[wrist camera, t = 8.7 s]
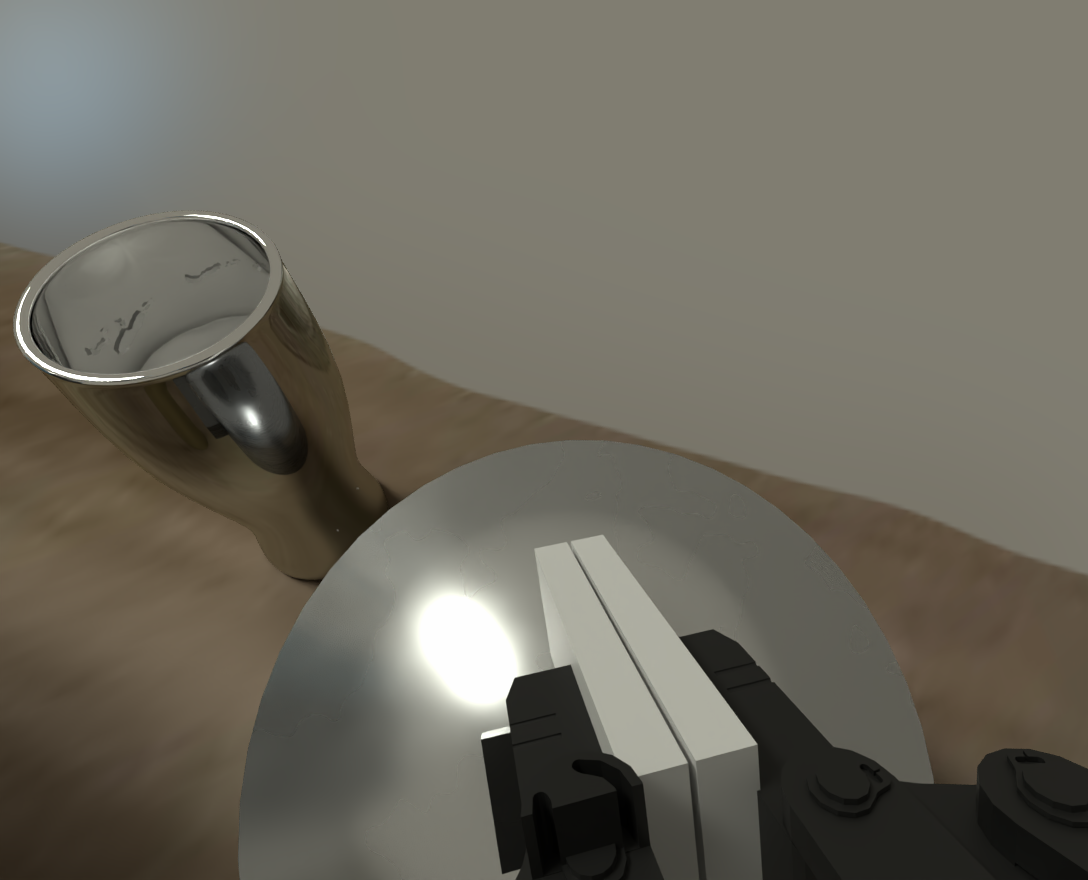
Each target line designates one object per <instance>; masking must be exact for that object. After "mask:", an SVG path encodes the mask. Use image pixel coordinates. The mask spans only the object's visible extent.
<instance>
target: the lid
mask: <svg viewBox="0 0 1088 880" xmlns="http://www.w3.org/2000/svg"><path fill="white" fill-rule="evenodd" d="M599 535H603V536H604V537H605V538H606V540H607V541H608V542H609V544H610V545H611V546H612V548H613V549H614V550H615V552H616V553H617V555H618V556H619V557H620V559H621V560H622V561H623V563H624V564H625V565H626V567H627V568H628V569H629V571H630V572H631V574H632V575H633V576H634V578H635V579H636V580H637V582H638V583H639V584H640V586H641V587H642V588H643V590H644V591H645V593H646V594H647V595H648V597H649V598H650V599H651V601H652V602H653V603H654V605H655V606H656V607H657V609H658V610H659V611H660V613H661V614H662V616H663V617H664V618H665V620H666V621H667V622H668V624H669V625H670V626H671V628H672V629H673V630H674V632H675V633H676V635H677V636H678V637H681V636H686V635H690V634H694V633H698V632H703V631H707V630H711V629H714V630H716V631H717V632H719V633H721V634H723V635H725V636H727V637H729V638H731V639H732V640H734V641H736V642H738V643H739V644H740V645H741V646H742V647H743V648H744V649H745V650H746V652H747V653H748V654H749V655H750V656H751V657H752V658H753V659H754V660H755V661H756V665H757V666H760V667H761V668H762V669H763V670H764V671H765V672H766V674H767V675H768V676H769V677H770V679H771V681H772V682H775V683H776V684H777V686H778V687H779V688H780V689H781V690H782V691H783V692H784V693H785V694H786V695H787V697H788V698H789V699H790V700H791V701H792V702H793V703H794V704H795V705H796V706H797V707H798V709H799V710H800V711H801V712H802V713H803V714H804V715H805V716H806V717H807V718H808V720H809V721H810V722H811V723H812V724H813V725H814V726H815V727H816V728H817V729H818V730H819V732H820V733H821V734H822V735H823V736H824V737H825V738H826V739H827V740H828V741H829V743H830V744H831V745H832V746H833V747H837V748H842V749H848V750H852V751H854V752H856V753H859V754H861V755H863V756H865V757H868V758H870V759H872V760H874V761H876V762H877V763H878V764H879V765H881V766H882V767H883V768H885V769H886V770H887V771H888V772H890V773H891V774H892V775H894V776H895V777H896V778H897V779H898V780H899V781H903V782H912V783H923V784H934V779H933V774H932V770H931V765H930V761H929V756H928V752H927V748H926V743H925V739H924V734H923V730H922V727H921V724H920V721H919V718H918V715H917V712H916V709H915V706H914V703H913V700H912V697H911V694H910V691H909V688H908V685H907V682H906V680H905V678H904V676H903V674H902V672H901V669H900V667H899V665H898V663H897V661H896V659H895V656H894V654H893V652H892V650H891V648H890V646H889V643H888V641H887V639H886V638H885V636H884V634H883V632H882V631H881V629H880V627H879V626H878V624H877V622H876V621H875V619H874V617H873V616H872V614H871V612H870V611H869V609H868V607H867V606H866V604H865V602H864V601H863V599H862V598H861V597H860V595H859V594H858V593H857V591H856V590H855V589H854V587H853V586H852V585H851V583H850V582H849V581H848V579H847V578H846V577H845V575H844V574H843V572H842V571H841V570H840V568H839V567H838V566H837V565H836V564H835V563H834V562H833V561H832V559H831V558H830V557H829V556H828V555H827V554H826V553H825V552H824V551H823V550H822V549H821V548H820V546H819V545H818V544H817V543H816V542H815V541H814V540H813V539H812V538H811V537H810V536H809V535H808V534H807V533H806V532H805V531H804V530H802V529H801V528H800V527H799V526H798V525H797V524H795V523H794V522H793V521H792V520H791V519H790V518H789V517H787V516H786V515H785V514H784V513H783V512H782V511H780V510H779V509H778V508H777V507H775V506H774V505H772V504H771V503H769V502H768V501H766V500H765V499H764V498H762V497H761V496H759V495H758V494H756V493H755V492H753V491H752V490H750V489H749V488H748V487H746V486H744V485H742V484H740V483H739V482H737V481H735V480H733V479H731V478H729V477H727V476H725V475H724V474H722V473H720V472H718V471H716V470H714V469H712V468H710V467H707V466H705V465H702V464H699V463H697V462H694V461H692V460H689V459H687V458H684V457H682V456H679V455H676V454H672V453H668V452H664V451H661V450H657V449H653V448H649V447H645V446H641V445H634V444H626V443H619V442H611V441H590V440H566V441H557V442H549V443H540V444H531V445H527V446H523V447H519V448H515V449H511V450H507V451H503V452H498V453H494V454H492V455H489V456H487V457H484V458H481V459H479V460H476V461H473V462H471V463H468V464H465V465H463V466H460V467H458V468H456V469H454V470H452V471H450V472H448V473H447V474H445V475H443V476H441V477H439V478H437V479H435V480H433V481H431V482H430V483H428V484H426V485H424V486H422V487H421V488H420V489H418V490H417V491H415V492H414V493H412V494H411V495H410V496H408V497H407V498H405V499H404V500H402V501H401V502H400V503H398V504H397V505H395V506H394V507H392V508H391V509H390V510H389V511H387V512H386V513H385V514H384V515H383V516H382V517H381V518H380V519H378V520H377V521H376V522H375V523H374V524H373V525H372V526H371V527H370V528H368V529H367V530H366V531H365V532H364V533H363V534H362V535H361V536H359V537H358V539H357V540H356V541H355V542H354V543H353V544H352V545H351V546H350V548H349V549H348V550H347V551H346V552H345V553H344V554H343V556H342V557H341V558H340V559H339V560H338V561H337V562H336V563H335V565H334V566H333V567H332V568H331V569H330V570H329V572H328V573H327V575H326V576H325V577H324V579H323V580H322V582H321V583H320V585H319V586H318V588H317V589H316V590H315V592H314V593H313V595H312V596H311V598H310V599H309V600H308V602H307V603H306V605H305V606H304V608H303V609H302V611H301V613H300V615H299V617H298V619H297V621H296V623H295V624H294V626H293V628H292V630H291V632H290V634H289V636H288V637H287V639H286V641H285V643H284V645H283V647H282V649H281V651H280V653H279V656H278V658H277V661H276V663H275V666H274V668H273V671H272V673H271V676H270V678H269V681H268V683H267V686H266V688H265V691H264V693H263V696H262V699H261V702H260V706H259V710H258V714H257V717H256V721H255V725H254V728H253V732H252V736H251V740H250V743H249V747H248V752H247V759H246V766H245V772H244V779H243V786H242V792H241V799H240V816H239V846H238V865H239V877H240V880H516V877H517V875H518V873H519V871H520V869H521V867H522V865H523V861H524V856H525V852H526V843H525V838H524V832H523V827H522V821H521V805H522V803H521V797H520V790H519V784H518V777H517V771H516V764H515V758H514V752H513V745H512V739H511V732H510V726H509V719H508V713H507V707H506V698H507V696H508V693H509V690H510V688H511V685H512V683H513V680H514V678H515V677H520V676H524V675H528V674H532V673H537V672H541V671H545V670H550V669H554V668H555V667H554V663H553V660H552V657H551V653H550V647H549V640H548V634H547V627H546V621H545V614H544V608H543V602H542V595H541V589H540V582H539V576H538V570H537V563H536V557H535V550H534V549H535V548H540V547H545V546H550V545H555V544H560V543H564V542H567V543H568V545H569V547H570V549H571V551H572V546H571V541H574V540H579V539H584V538H589V537H594V536H599Z"/></svg>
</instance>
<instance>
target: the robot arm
mask: <svg viewBox="0 0 1088 880" xmlns="http://www.w3.org/2000/svg"><path fill="white" fill-rule="evenodd" d="M571 546H572V551H571V549H570V547H569V545H568V543H567V542H564V543H560V544H555V545H550V546H545V547H540V548H535V549H534V550H535V557H536V563H537V570H538V576H539V582H540V589H541V595H542V602H543V608H544V614H545V621H546V627H547V634H548V640H549V647H550V653H551V657H552V660H553V663H554V667H555V668H554V669H550V670H545V671H541V672H537V673H532V674H528V675H524V676H520V677H515V678H514V680H513V683H512V685H511V688H510V690H509V693H508V696H507V698H506V707H507V713H508V719H509V726H510V732H511V739H512V745H513V752H514V758H515V764H516V771H517V777H518V784H519V790H520V797H521V803H522V805H521V821H522V827H523V832H524V838H525V843H526V852H525V856H524V861H523V865H522V867H521V869H520V871H519V873H518V875H517V877H516V880H1088V769H1087V768H1085V767H1082V766H1080V765H1078V764H1076V763H1073V762H1071V761H1069V760H1066V759H1064V758H1062V757H1060V756H1056V755H1052V754H1048V753H1044V752H1039V751H1035V750H1031V749H1002V750H999V751H996V752H993V753H990V754H987V755H986V756H985V757H984V759H983V760H982V761H981V763H980V764H979V765H978V767H977V785H956V784H923V783H912V782H903V781H899V780H898V779H897V778H896V777H895V776H894V775H892V774H891V773H890V772H888V771H887V770H886V769H885V768H883V767H882V766H881V765H879V764H878V763H877V762H876V761H874V760H872V759H870V758H868V757H865V756H863V755H861V754H859V753H856V752H854V751H852V750H848V749H842V748H837V747H833V746H832V745H831V744H830V743H829V741H828V740H827V739H826V738H825V737H824V736H823V735H822V734H821V733H820V732H819V730H818V729H817V728H816V727H815V726H814V725H813V724H812V723H811V722H810V721H809V720H808V718H807V717H806V716H805V715H804V714H803V713H802V712H801V711H800V710H799V709H798V707H797V706H796V705H795V704H794V703H793V702H792V701H791V700H790V699H789V698H788V697H787V695H786V694H785V693H784V692H783V691H782V690H781V689H780V688H779V687H778V686H777V684H776V683H775V682H772V681H771V679H770V677H769V676H768V675H767V674H766V672H765V671H764V670H763V669H762V668H761V667H760V666H757V665H756V661H755V660H754V659H753V658H752V657H751V656H750V655H749V654H748V653H747V652H746V650H745V649H744V648H743V647H742V646H741V645H740V644H739V643H738V642H736V641H734V640H732V639H731V638H729V637H727V636H725V635H723V634H721V633H719V632H717V631H716V630H714V629H711V630H707V631H703V632H698V633H694V634H690V635H686V636H681V637H678V636H677V635H676V633H675V632H674V630H673V629H672V628H671V626H670V625H669V624H668V622H667V621H666V620H665V618H664V617H663V616H662V614H661V613H660V611H659V610H658V609H657V607H656V606H655V605H654V603H653V602H652V601H651V599H650V598H649V597H648V595H647V594H646V593H645V591H644V590H643V588H642V587H641V586H640V584H639V583H638V582H637V580H636V579H635V578H634V576H633V575H632V574H631V572H630V571H629V569H628V568H627V567H626V565H625V564H624V563H623V561H622V560H621V559H620V557H619V556H618V555H617V553H616V552H615V550H614V549H613V548H612V546H611V545H610V544H609V542H608V541H607V540H606V538H605V537H604V536H603V535H599V536H594V537H589V538H584V539H579V540H574V541H571Z"/></svg>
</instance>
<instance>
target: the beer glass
mask: <svg viewBox="0 0 1088 880" xmlns="http://www.w3.org/2000/svg"><path fill="white" fill-rule="evenodd" d="M13 329H14V337H15V340H16V343H17V346H18V348H19V349H20V351H21V353H22V354H23V355H24V357H25V358H26V359H27V360H28V361H29V362H30V363H31V364H32V365H33V366H34V367H36V368H37V369H39V370H40V371H41V372H42V373H43V374H44V375H45V376H46V377H47V378H48V379H49V380H50V381H51V382H52V383H53V384H54V385H55V386H56V387H57V388H58V389H59V390H60V392H61V393H62V394H63V395H64V396H65V397H66V398H67V399H68V400H69V401H70V402H71V403H72V405H73V406H74V407H75V408H76V409H77V410H78V411H79V412H80V413H81V414H82V415H83V416H84V417H85V418H86V419H87V420H88V421H89V422H90V423H91V424H92V425H93V426H94V427H95V428H96V429H97V430H98V431H99V432H100V433H101V434H102V435H103V436H104V437H105V438H106V439H108V440H109V441H110V442H111V443H112V444H113V445H114V446H115V447H116V448H117V449H119V450H120V451H121V452H122V453H123V454H124V455H125V456H126V457H127V458H129V459H130V460H131V461H133V462H134V463H135V464H136V465H138V466H139V467H140V468H142V469H143V470H144V471H146V472H147V473H148V474H150V475H151V476H152V477H153V478H155V479H156V480H157V481H159V482H160V483H162V484H164V485H165V486H167V487H169V488H170V489H172V490H174V491H176V492H177V493H179V494H181V495H182V496H184V497H186V498H188V499H189V500H191V501H193V502H195V503H197V504H199V505H201V506H203V507H205V508H207V509H209V510H211V511H213V512H216V513H218V514H220V515H222V516H224V517H226V518H228V519H230V520H233V521H235V522H237V523H239V524H240V525H242V526H244V527H246V528H248V529H249V530H250V531H251V532H252V533H253V534H254V535H255V537H256V539H257V541H258V544H259V546H260V548H261V549H262V551H263V553H264V555H265V556H266V558H267V559H268V560H269V562H270V563H271V564H272V565H273V566H274V567H275V568H277V569H278V570H279V571H281V572H283V573H284V574H286V575H289V576H291V577H295V578H298V579H304V580H322V579H324V577H325V576H326V575H327V573H328V572H329V570H330V569H331V568H332V567H333V566H334V565H335V563H336V562H337V561H338V560H339V559H340V558H341V557H342V556H343V554H344V553H345V552H346V551H347V550H348V549H349V548H350V546H351V545H352V544H353V543H354V542H355V541H356V540H357V539H358V537H359V536H361V535H362V534H363V533H364V532H365V531H366V530H367V529H368V528H370V527H371V526H372V525H373V524H374V523H375V522H376V521H377V520H378V519H380V518H381V517H382V516H383V515H384V514H385V513H386V512H387V511H388V504H387V499H386V496H385V493H384V491H383V489H382V487H381V485H380V484H379V482H378V481H377V480H376V479H375V478H374V477H373V476H372V475H371V474H370V473H369V472H368V471H367V470H366V469H365V468H364V467H363V466H362V465H361V464H360V462H359V460H358V458H357V454H356V449H355V443H354V436H353V429H352V423H351V417H350V411H349V405H348V401H347V397H346V393H345V389H344V385H343V381H342V377H341V374H340V372H339V369H338V367H337V364H336V362H335V359H334V357H333V354H332V351H331V349H330V346H329V344H328V342H327V340H326V338H325V336H324V334H323V332H322V330H321V328H320V326H319V324H318V322H317V320H316V318H315V317H314V315H313V313H312V311H311V309H310V308H309V306H308V304H307V302H306V300H305V299H304V297H303V295H302V293H301V292H300V290H299V288H298V287H297V285H296V283H295V282H294V280H293V278H292V277H291V275H290V273H289V272H288V270H287V268H286V266H285V265H284V263H283V261H282V259H281V256H280V254H279V251H278V249H277V247H276V245H275V244H274V243H273V241H272V240H271V239H270V238H269V237H268V236H267V235H266V234H265V233H264V232H263V231H262V230H260V229H259V228H258V227H256V226H254V225H252V224H251V223H249V222H247V221H244V220H242V219H240V218H237V217H234V216H230V215H226V214H221V213H216V212H209V211H172V212H163V213H157V214H151V215H146V216H142V217H138V218H134V219H130V220H127V221H124V222H121V223H118V224H115V225H112V226H110V227H107V228H105V229H102V230H100V231H98V232H95V233H93V234H91V235H89V236H87V237H86V238H83V239H82V240H80V241H78V242H76V243H75V244H73V245H72V246H70V247H68V248H67V249H65V250H64V251H63V252H61V253H60V254H58V255H57V256H56V257H55V258H53V259H52V260H51V261H50V262H49V263H47V264H46V265H45V266H44V267H43V268H42V269H41V270H40V271H39V272H38V273H37V274H36V275H35V277H34V278H33V279H32V280H31V282H30V283H29V284H28V286H27V287H26V289H25V290H24V292H23V293H22V295H21V297H20V299H19V302H18V304H17V307H16V310H15V314H14V322H13Z"/></svg>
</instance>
